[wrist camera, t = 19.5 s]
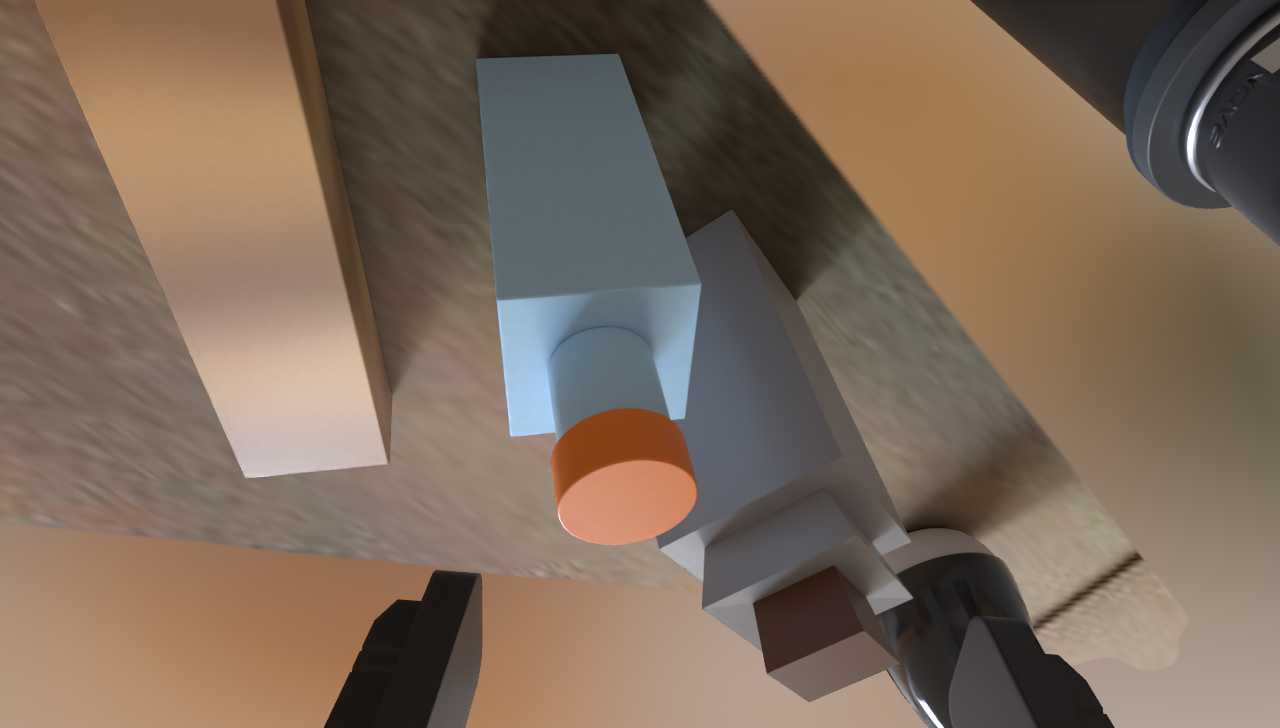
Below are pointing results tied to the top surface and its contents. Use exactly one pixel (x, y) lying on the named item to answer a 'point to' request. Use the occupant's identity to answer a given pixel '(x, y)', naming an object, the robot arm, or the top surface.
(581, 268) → the light blue bottle
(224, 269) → the wooden board
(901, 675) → the pump dispenser
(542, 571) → the top surface
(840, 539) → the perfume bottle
